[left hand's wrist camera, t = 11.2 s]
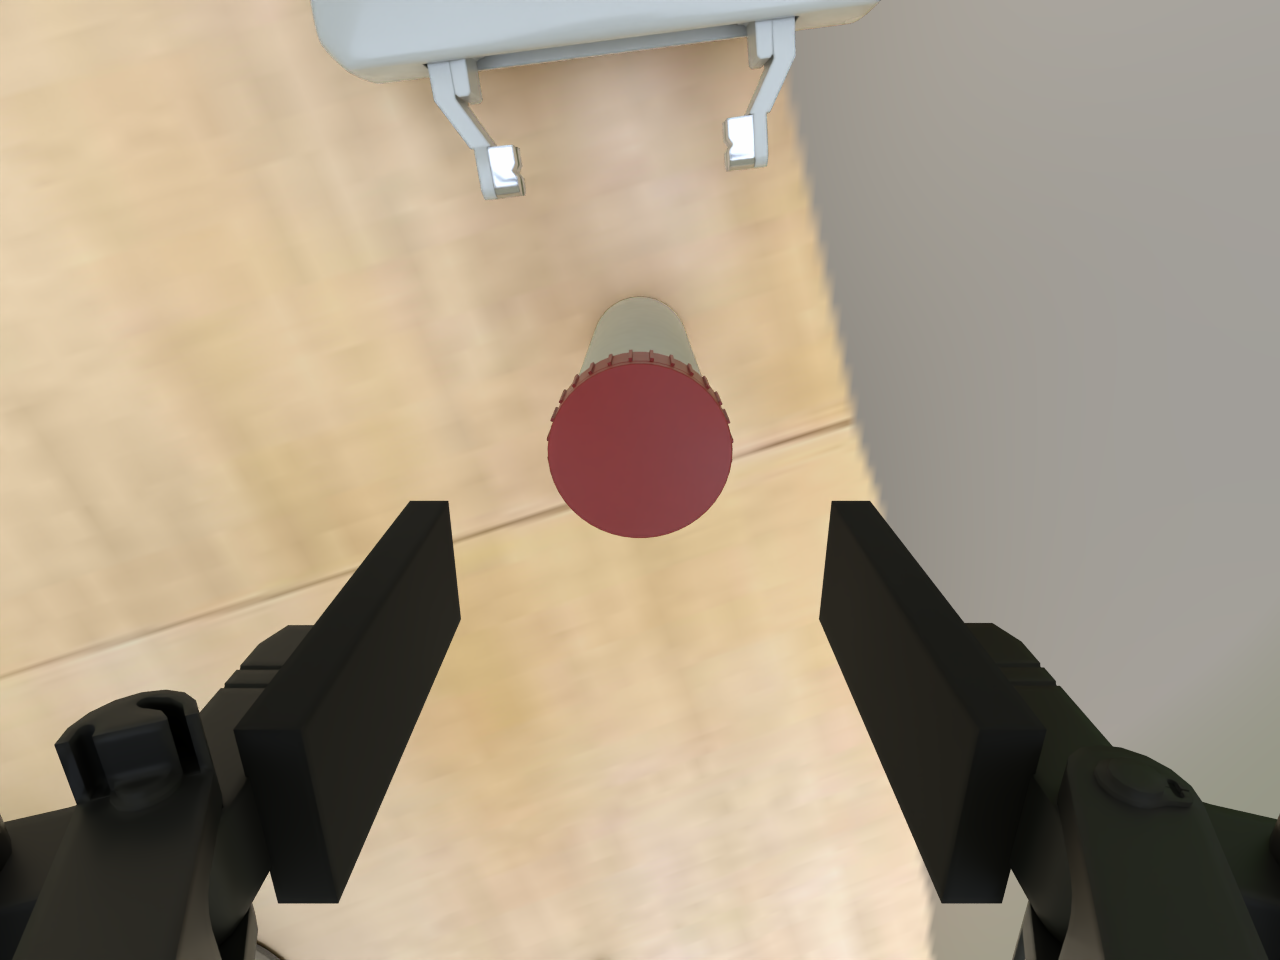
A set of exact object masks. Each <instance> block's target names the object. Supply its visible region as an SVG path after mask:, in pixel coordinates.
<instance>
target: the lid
mask: <svg viewBox="0 0 1280 960" xmlns="http://www.w3.org/2000/svg"><path fill="white" fill-rule="evenodd" d="M559 403H560V405H559V408H558V407H556V408H555V410H554V413H553V415H552V418H551V421H552V422H553V423H552V426H551V429H550V432H549V434H548V437H547V441H548V462H549V467H550V472H551V475H552V478H553V481H554V483H555V485H556V488H557V490H558V492H559V493H560V495H561V496H562V498H563V499H564V501H565V502H566V503H567V504H568V506H569V507H570V508H571V509H572V510H573V511H574V512H575V513H576V514H577V515H578V516H580V517H581V518H582V519H583V520H585V521H586V522H588V523H589V524H591V525H593V526H595V527H596V528H598V529H600V530H603V531H605V532H608V533H611V534H615V535H619V536H623V537H631V538H649V537H657V536H661V535H666V534H669V533H672V532H675V531H677V530H680V529H682V528H684V527H686V526H687V525H689V524H691V523H692V522H694V521H695V520H697V519H698V518H699V517H701V516H702V515H703V514H704V513H705V512H706V511H707V510H708V509H709V508H710V507H711V506H712V505H713V503H714V502H715V501H716V499H717V498H718V496H719V495H720V493H721V492H722V490H723V488H724V486H725V484H726V481H727V478H728V475H729V472H730V467H731V462H732V443H733V438H732V436H731V433H730V429H729V426H728V424H729V423H730V421H729V418H728V416H727V413H726V411H725V409H722V408H721V405H722V402H721V400H720V397H719V395H718V393H717V391H716V392H714V391H713V390H712V388H711V387H710V386H709V383H708V381H707V378H706V377H705V376H703V377H701V376H700V375H699V374H698V373H697V372H696V371H695V370H693V369H692V366H691V364H689V363H688V364H687V365H686V364H684V363H682V362H681V361H679V360H676V359H674V357H673V355H671V354H670V355H669V356H666V355H662V354H658V353H653V350H650V351H649V352H633V350H629V353H622V354H618V355H614V356H613V354H609V357H608V358H606V359H604V360H601V361H599V362H598V363H596V364H595V363H594V362H592V363H591V364H590V367H589V368H588V369H587V370H585V371H584V372H583V373H582V374H581V375H580V376H579V375H578V374H577V375H576V376H575V378H574V380H573V383H572V384H571V386H570V387H569V388H568V390H564V391H563V393H562V396H561V398H560V400H559Z"/></svg>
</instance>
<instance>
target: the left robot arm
mask: <svg viewBox="0 0 1280 960" xmlns="http://www.w3.org/2000/svg"><path fill="white" fill-rule="evenodd" d="M460 620H461V616H460V606H459V597H458V588H457V578H456V569H455V560H454V550H453V541H452V532H451V522H450V513H449V503H448V501H410V502H409V503H408V504H407V506H406V507H405V508H404V509H403V511H402V512H401V513H400V515H399V516H398V517H397V518H396V520H395V521H394V522H393V524H392V525H391V526H390V528H389V529H388V530H387V531H386V533H385V534H384V535H383V537H382V538H381V539H380V540H379V542H378V543H377V544H376V546H375V547H374V548H373V549H372V551H371V552H370V553H369V555H368V556H367V557H366V559H365V560H364V561H363V562H362V564H361V565H360V566H359V568H358V569H357V570H356V571H355V573H354V574H353V575H352V577H351V578H350V579H349V580H348V582H347V583H346V584H345V586H344V587H343V588H342V590H341V591H340V592H339V593H338V595H337V596H336V597H335V599H334V600H333V601H332V602H331V604H330V605H329V606H328V608H327V609H326V610H325V612H324V613H323V614H322V615H321V617H320V618H319V619H318V621H317V622H316V623H315V624H314V625H288V626H286V627H285V628H283V629H282V630H280V631H278V632H277V633H275V634H274V635H272V636H271V637H269V638H268V639H266V640H264V641H263V642H261V643H260V644H259V645H258V646H257V647H256V648H255V649H254V650H253V652H252V653H251V654H250V655H249V656H248V657H247V659H246V660H245V661H244V662H243V663H242V664H241V665H240V670H236V671H235V672H234V674H233V675H232V676H231V677H230V678H229V679H228V680H227V682H226V683H225V687H224V688H221V689H220V690H219V691H218V692H217V693H216V694H215V695H214V697H213V698H212V699H211V700H210V701H209V702H208V704H207V705H206V706H205V707H204V708H203V709H202V711H201V712H200V713H199V710H198V706H197V703H196V700H194V699H193V698H192V697H190V696H189V695H188V694H186V693H185V692H178V691H171V690H159V691H150V692H141V693H138V694H135V695H131V696H128V697H125V698H121V699H118V700H115V701H113V702H111V703H108V704H106V705H104V706H102V707H100V708H98V709H96V710H94V711H92V712H90V713H88V714H87V715H85V716H84V717H83V718H81V719H80V720H78V721H77V722H76V723H74V724H73V725H71V726H70V727H69V728H67V730H66V731H65V732H64V733H63V735H62V736H61V737H60V738H59V740H58V741H57V742H56V743H55V748H56V751H57V753H58V756H59V759H60V761H61V764H62V766H63V769H64V772H65V774H66V777H67V780H68V782H69V785H70V788H71V790H72V793H73V796H74V798H75V801H76V804H77V805H76V806H73V807H69V808H65V809H60V810H56V811H52V812H47V813H43V814H38V815H34V816H30V817H25V818H21V819H16V820H12V821H8V822H3V820H2V817H1V815H0V960H280V959H279V958H278V957H276V956H275V955H274V954H272V953H271V952H270V951H268V950H266V949H265V948H263V947H261V946H260V945H258V944H256V943H257V933H258V927H257V922H256V916H255V911H254V908H253V904H252V902H253V900H254V898H255V896H256V894H257V893H258V891H259V889H260V887H261V885H262V884H263V882H264V880H265V878H266V876H267V875H268V873H269V871H270V874H271V878H272V881H273V885H274V889H275V893H276V897H277V901H278V903H339V900H340V898H341V896H342V893H343V891H344V889H345V887H346V884H347V882H348V880H349V877H350V875H351V873H352V870H353V868H354V866H355V863H356V861H357V859H358V856H359V854H360V852H361V849H362V847H363V845H364V842H365V840H366V838H367V836H368V833H369V831H370V829H371V826H372V824H373V822H374V819H375V817H376V815H377V812H378V810H379V808H380V805H381V803H382V801H383V798H384V796H385V794H386V791H387V789H388V787H389V785H390V782H391V780H392V778H393V775H394V773H395V771H396V768H397V766H398V764H399V761H400V759H401V757H402V754H403V752H404V750H405V747H406V745H407V743H408V740H409V738H410V736H411V734H412V731H413V729H414V727H415V724H416V722H417V720H418V717H419V715H420V713H421V710H422V708H423V706H424V703H425V701H426V699H427V696H428V694H429V692H430V689H431V687H432V685H433V683H434V680H435V678H436V676H437V673H438V671H439V669H440V666H441V664H442V662H443V659H444V657H445V655H446V652H447V650H448V648H449V645H450V643H451V641H452V638H453V636H454V634H455V632H456V629H457V627H458V625H459V622H460ZM819 620H820V622H821V625H822V627H823V629H824V632H825V634H826V636H827V639H828V641H829V643H830V645H831V648H832V650H833V652H834V655H835V657H836V659H837V662H838V664H839V666H840V669H841V671H842V673H843V676H844V678H845V680H846V683H847V685H848V687H849V690H850V692H851V694H852V696H853V699H854V701H855V703H856V706H857V708H858V710H859V713H860V715H861V717H862V720H863V722H864V724H865V727H866V729H867V731H868V734H869V736H870V738H871V741H872V743H873V745H874V747H875V750H876V752H877V754H878V757H879V759H880V761H881V764H882V766H883V768H884V771H885V773H886V775H887V778H888V780H889V782H890V785H891V787H892V789H893V792H894V794H895V796H896V798H897V801H898V803H899V805H900V808H901V810H902V812H903V815H904V817H905V819H906V822H907V824H908V826H909V829H910V831H911V833H912V836H913V838H914V840H915V843H916V845H917V847H918V849H919V852H920V854H921V856H922V859H923V861H924V863H925V866H926V868H927V870H928V873H929V875H930V877H931V880H932V882H933V884H934V887H935V889H936V891H937V894H938V896H939V898H940V900H941V903H1002V900H1003V897H1004V893H1005V889H1006V885H1007V881H1008V878H1009V874H1010V870H1011V869H1012V871H1013V873H1014V875H1015V877H1016V878H1017V880H1018V882H1019V884H1020V885H1021V887H1022V889H1023V891H1024V893H1025V894H1026V896H1027V898H1028V900H1029V901H1028V904H1027V908H1026V912H1025V915H1024V919H1023V922H1022V926H1021V929H1020V933H1019V937H1018V940H1017V944H1016V947H1015V951H1014V955H1013V959H1012V960H1280V815H1279V817H1278V820H1277V819H1273V818H1269V817H1264V816H1259V815H1255V814H1251V813H1246V812H1242V811H1238V810H1233V809H1228V808H1224V807H1220V806H1215V805H1211V804H1208V803H1204V802H1202V801H1201V799H1200V798H1199V797H1198V795H1197V794H1196V792H1195V791H1194V789H1193V788H1192V786H1191V785H1189V784H1188V783H1187V782H1186V781H1184V780H1183V779H1182V778H1181V777H1180V776H1178V775H1177V774H1176V773H1175V772H1173V771H1172V770H1171V769H1169V768H1167V767H1166V766H1164V765H1162V764H1160V763H1158V762H1156V761H1155V760H1153V759H1151V758H1149V757H1147V756H1145V755H1142V754H1139V753H1136V752H1133V751H1130V750H1127V749H1124V748H1120V747H1113V746H1112V745H1111V744H1110V743H1109V742H1108V741H1107V739H1106V738H1105V737H1104V736H1103V735H1102V734H1101V732H1100V731H1099V730H1098V729H1097V728H1096V727H1095V726H1094V724H1093V723H1092V722H1091V721H1090V720H1089V719H1088V718H1087V716H1086V715H1085V714H1084V713H1083V712H1082V711H1081V709H1080V708H1079V707H1078V706H1077V705H1076V704H1075V703H1074V701H1073V700H1072V699H1071V698H1070V697H1069V696H1068V695H1067V693H1066V692H1065V691H1064V690H1063V689H1062V688H1061V687H1060V686H1056V681H1055V680H1054V679H1053V677H1052V676H1051V675H1050V674H1049V673H1048V672H1047V670H1046V669H1045V668H1041V667H1040V662H1039V661H1038V660H1037V659H1036V658H1035V657H1034V656H1033V654H1032V653H1031V652H1030V651H1029V650H1028V649H1027V648H1026V646H1025V645H1024V644H1023V643H1022V642H1021V641H1019V640H1018V639H1016V638H1015V637H1013V636H1012V635H1010V634H1009V633H1007V632H1006V631H1004V630H1002V629H1001V628H999V627H998V626H996V625H995V624H993V623H964V622H963V621H962V619H961V618H960V617H959V615H958V614H957V613H956V612H955V610H954V609H953V608H952V606H951V605H950V604H949V602H948V601H947V600H946V599H945V597H944V596H943V595H942V593H941V592H940V591H939V590H938V588H937V587H936V586H935V584H934V583H933V582H932V581H931V579H930V578H929V577H928V575H927V574H926V573H925V571H924V570H923V569H922V568H921V566H920V565H919V564H918V562H917V561H916V560H915V559H914V557H913V556H912V555H911V553H910V552H909V551H908V550H907V548H906V547H905V546H904V544H903V543H902V542H901V540H900V539H899V538H898V537H897V535H896V534H895V533H894V531H893V530H892V529H891V528H890V526H889V525H888V524H887V522H886V521H885V520H884V518H883V517H882V516H881V515H880V513H879V512H878V511H877V509H876V508H875V507H874V506H873V504H872V503H871V502H870V501H832V503H831V513H830V522H829V531H828V541H827V550H826V560H825V569H824V578H823V588H822V597H821V606H820V616H819Z"/></svg>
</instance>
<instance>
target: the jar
mask: <svg viewBox="0 0 1280 960" xmlns="http://www.w3.org/2000/svg"><path fill="white" fill-rule="evenodd" d="M629 350H633V352H649V351H650V350H653V353H658V354H662V355H666V356H669V355H670V354H671V355H673V357H674V359H676V360H679V361H681V362H682V363H684V364H686V365H687V364H688V363H689V364H691V366H692V369H693V370H695V371H696V372H697V373H698V374H699V375H700V376H701V373H700V371H699V368H698V365H697V362H696V359H695V357H694V354H693V351H692V348H691V345H690V343H689V340H688V337H687V334H686V331H685V329H684V326H683V324H682V322H681V320H680V318H679V317H678V316H677V314H676V313H675V312H674V311H673V310H672V309H671V308H670V307H669V306H667V305H666V304H664V303H662V302H660V301H658V300H656V299H652V298H648V297H632V298H628V299H624V300H622V301H620V302H618V303H616V304H614V305H613V306H612V307H610V308H609V309H608V310H607V311H606V312H605V313H604V314H603V316H602V317H601V318H600V320H599V322H598V324H597V326H596V329H595V331H594V334H593V337H592V340H591V343H590V345H589V348H588V351H587V354H586V357H585V359H584V362H583V365H582V368H581V371H580V373H579V376H580V375H581V374H582V373H583V372H584V371H585V370H587V369H588V368H589V367H590V364H591V363H592V362H594V363H595V364H596V363H598V362H599V361H601V360H604V359H606V358H608V357H609V354H613V356H614V355H618V354H622V353H629ZM701 377H702V376H701Z"/></svg>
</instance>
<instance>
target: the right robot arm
mask: <svg viewBox="0 0 1280 960" xmlns="http://www.w3.org/2000/svg"><path fill="white" fill-rule="evenodd" d="M879 1H880V0H310V2H311V8H312V13H313V18H314V23H315V28H316V32H317V35H318V38H319V41H320V43H321V45H322V46H323V48H324V49H325V50H326V52H327V53H328V54H329V55H330V56H331V57H332V58H333V59H334V60H335V61H336V62H337V63H338V64H339V65H340V66H342V67H343V68H344V69H345V70H346V71H348V72H349V73H351V74H353V75H355V76H357V77H359V78H361V79H363V80H366V81H369V82H372V83H376V84H383V83H391V82H399V81H407V80H415V79H423V78H430V82H431V87H432V92H433V97H434V101H435V103H436V104H437V105H438V107H439V108H440V109H441V110H442V112H443V113H444V114H445V116H446V117H447V118H448V120H449V121H450V122H451V124H452V125H453V126H454V128H455V129H456V130H457V132H458V133H459V134H460V136H461V137H462V138H463V140H464V141H465V142H466V144H467V145H468V146H469V148H470V149H472V150H474V153H475V158H476V164H477V169H478V175H479V181H480V186H481V191H482V194H483V197H484V199H485V200H495V199H504V198H511V197H518V196H525V195H526V186H525V179H524V177H523V176H522V175H521V174H520V171H521V168H522V160H521V154H520V148H518V147H515V146H514V145H505V146H497V145H496V144H495V142H494V141H493V140H492V138H491V137H490V135H489V134H488V133H487V131H486V130H485V128H484V127H483V126H482V124H481V123H480V121H479V120H478V119H477V117H476V116H475V114H474V113H473V112H472V110H471V109H470V107H469V106H468V103H470V104H471V105H472V104H480V103H481V102H482V100H483V99H482V93H481V86H480V80H479V74H478V71H485V70H493V69H501V68H509V67H517V66H524V65H532V64H540V63H548V62H556V61H563V60H571V59H579V58H587V57H595V56H603V55H610V54H618V53H626V52H634V51H642V50H649V49H657V48H665V47H673V46H681V45H689V44H696V43H704V42H712V41H720V40H728V39H735V38H743V37H747V45H748V61H749V67H750V68H751V69H758V68H761V67H762V66H763V65H764V71H763V73H762V75H761V78H760V80H759V82H758V85H757V87H756V89H755V91H754V94H753V96H752V98H751V101H750V103H749V105H748V108H747V110H746V112H745V115H744V116H740V117H733V118H727V119H726V120H725V121H724V122H723V123H722V128H723V142H724V143H725V145H726V146H727V147H728V148H727V150H726V152H725V153H724V161H725V169H726V171H736V170H746V169H755V168H762V167H766V166H767V163H768V135H767V114H768V113H769V112H770V111H771V109H772V107H773V104H774V102H775V100H776V98H777V96H778V93H779V91H780V89H781V87H782V85H783V82H784V80H785V78H786V76H787V74H788V71H789V69H790V67H791V65H792V63H793V60H794V58H795V56H796V45H795V31H798V30H806V29H814V28H821V27H829V26H837V25H845V24H851V23H853V22H856V21H858V20H859V19H861V18H862V17H863V16H865V15H866V14H867V13H868V12H869V11H871V10H872V9H873V8H874V7H875V6H876V5H877V4H878V3H879Z"/></svg>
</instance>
